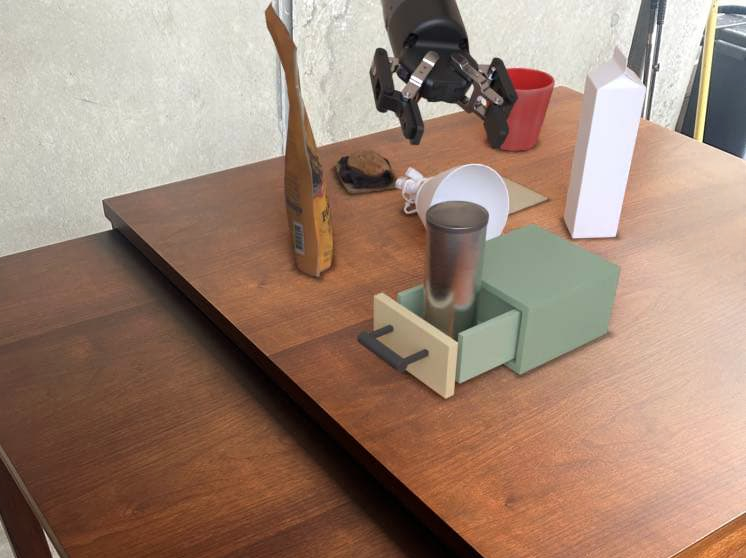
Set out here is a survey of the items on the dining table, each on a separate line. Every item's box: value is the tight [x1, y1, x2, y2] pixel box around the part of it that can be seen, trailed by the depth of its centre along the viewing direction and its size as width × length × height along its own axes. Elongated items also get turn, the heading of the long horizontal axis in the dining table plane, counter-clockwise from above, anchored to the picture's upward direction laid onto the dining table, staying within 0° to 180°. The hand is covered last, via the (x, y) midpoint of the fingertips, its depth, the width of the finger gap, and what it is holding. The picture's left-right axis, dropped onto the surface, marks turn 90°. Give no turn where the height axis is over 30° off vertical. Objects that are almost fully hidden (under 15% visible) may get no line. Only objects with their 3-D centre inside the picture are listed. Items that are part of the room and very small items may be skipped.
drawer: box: [356, 282, 522, 400], centre depth 94 cm, size 17×13×6 cm
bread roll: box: [335, 149, 397, 195], centre depth 132 cm, size 11×8×4 cm
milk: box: [563, 44, 648, 239], centre depth 111 cm, size 6×6×22 cm
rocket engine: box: [395, 163, 509, 241], centre depth 118 cm, size 12×12×18 cm
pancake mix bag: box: [264, 1, 334, 278], centre depth 107 cm, size 7×19×28 cm, turn 4°
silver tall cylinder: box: [422, 201, 489, 342], centre depth 90 cm, size 6×6×15 cm
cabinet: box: [481, 222, 622, 376], centre depth 99 cm, size 14×14×8 cm
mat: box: [500, 175, 549, 215], centre depth 127 cm, size 10×10×1 cm
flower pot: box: [485, 67, 556, 152], centre depth 138 cm, size 11×11×10 cm
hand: (459, 140), depth 83 cm, fingers open, 8 cm apart
